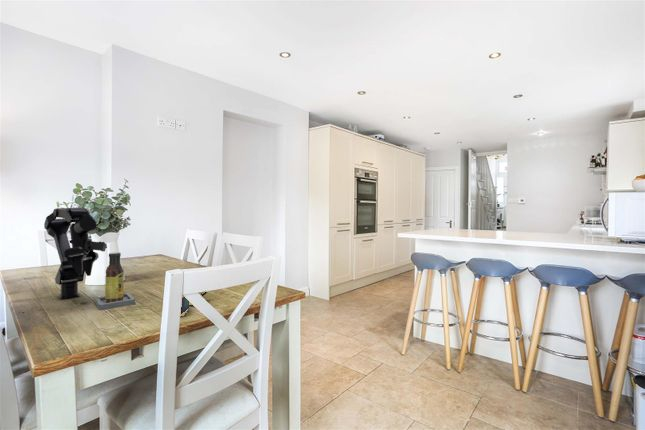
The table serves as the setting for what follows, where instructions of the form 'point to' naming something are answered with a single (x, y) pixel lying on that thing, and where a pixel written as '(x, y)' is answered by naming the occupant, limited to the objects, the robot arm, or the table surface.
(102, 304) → the keeper tray
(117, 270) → the sauce bottle
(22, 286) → the table surface
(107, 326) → the table surface
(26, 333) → the table surface
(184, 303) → the flask
